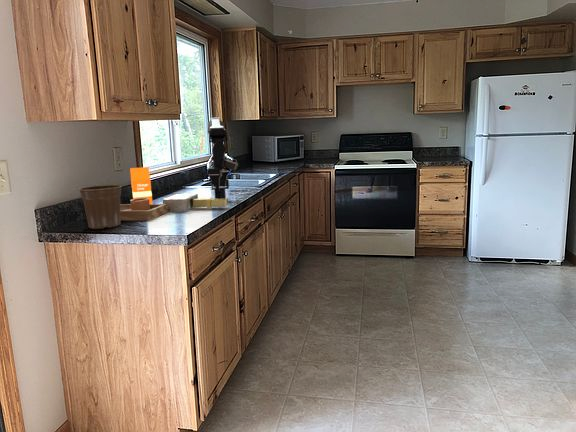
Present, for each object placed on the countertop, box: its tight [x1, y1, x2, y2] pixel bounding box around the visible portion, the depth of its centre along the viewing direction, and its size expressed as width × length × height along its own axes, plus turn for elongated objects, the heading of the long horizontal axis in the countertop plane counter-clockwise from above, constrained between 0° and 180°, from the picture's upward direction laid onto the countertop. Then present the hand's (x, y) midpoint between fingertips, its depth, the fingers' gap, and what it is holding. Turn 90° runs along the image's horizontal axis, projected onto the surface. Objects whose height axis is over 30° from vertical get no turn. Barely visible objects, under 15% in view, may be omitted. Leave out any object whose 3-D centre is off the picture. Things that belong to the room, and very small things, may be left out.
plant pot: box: [78, 184, 123, 230], centre depth 182 cm, size 16×16×16 cm
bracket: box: [123, 198, 150, 211], centre depth 203 cm, size 18×8×7 cm, turn 146°
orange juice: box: [130, 166, 154, 204], centre depth 223 cm, size 8×9×20 cm
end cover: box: [193, 197, 228, 209], centre depth 215 cm, size 5×16×4 cm, turn 80°
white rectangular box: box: [162, 193, 199, 213], centre depth 217 cm, size 16×11×6 cm
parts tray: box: [120, 203, 169, 221], centre depth 203 cm, size 17×26×4 cm, turn 80°
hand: (221, 188), depth 212 cm, fingers open, 9 cm apart
